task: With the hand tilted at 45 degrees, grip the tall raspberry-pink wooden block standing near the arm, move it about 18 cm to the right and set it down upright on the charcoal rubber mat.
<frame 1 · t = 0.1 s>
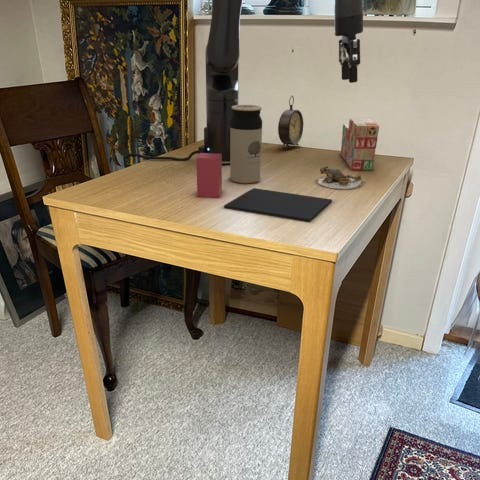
hand: (349, 81, 140), 22 cm above the table, tool pointing down, fingers open, 8 cm apart
frog figurine: (338, 183, 130), on the table
mat: (279, 204, 113), on the table
alarm clock: (288, 148, 169), on the table
stack of blocks: (355, 162, 152), on the table
block: (209, 194, 120), on the table
travel mug: (245, 180, 132), on the table
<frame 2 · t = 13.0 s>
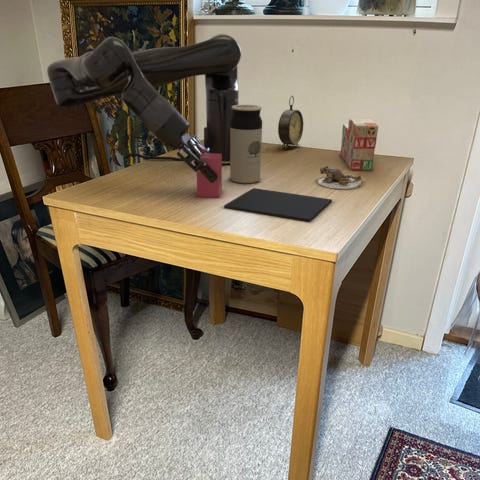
hand: (216, 176, 117), 4 cm above the table, tool tilted 45°, fingers closed on block, 5 cm apart
block: (209, 194, 120), on the table, touching gripper
everything else where it was.
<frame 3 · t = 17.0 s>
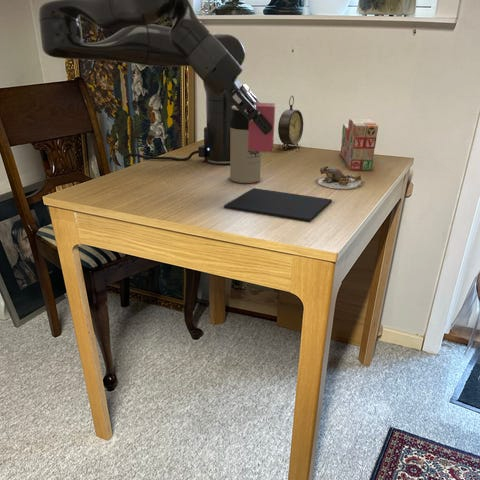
hand: (270, 128, 106), 16 cm above the table, tool tilted 45°, fingers closed on block, 5 cm apart
block: (260, 148, 109), point 12 cm above the table, touching gripper
everything else where it was.
when the fingers open (5 cm above the table, at t = 21.1 s): block stays where it is, resting on mat.
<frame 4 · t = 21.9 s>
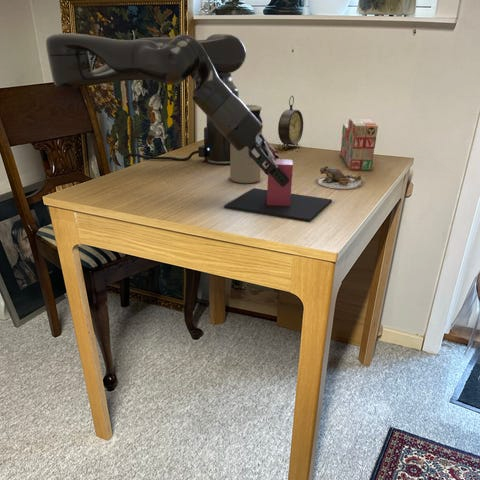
hand: (286, 178, 110), 6 cm above the table, tool tilted 45°, fingers open, 8 cm apart
block: (278, 202, 113), point 1 cm above the table, touching mat
everything else where it was.
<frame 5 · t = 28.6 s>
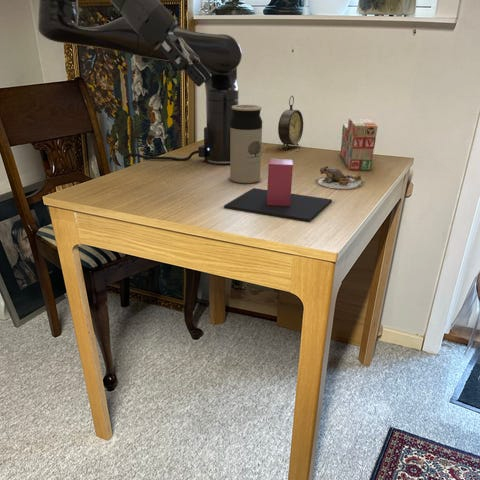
hand: (205, 81, 106), 25 cm above the table, tool tilted 45°, fingers open, 8 cm apart
nothing on the table moved.
at the end: block inside the target area on the mat (0.1 cm from its centre), point 0.6 cm above the mat's base; block tilted 0°; the gripper is holding nothing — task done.
